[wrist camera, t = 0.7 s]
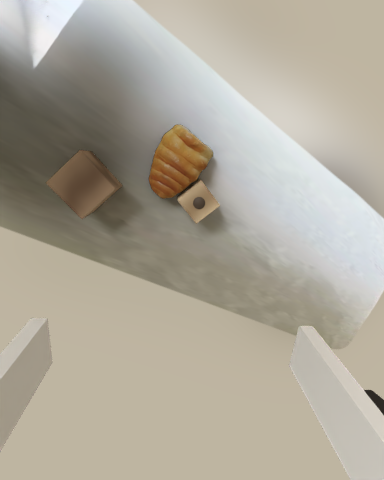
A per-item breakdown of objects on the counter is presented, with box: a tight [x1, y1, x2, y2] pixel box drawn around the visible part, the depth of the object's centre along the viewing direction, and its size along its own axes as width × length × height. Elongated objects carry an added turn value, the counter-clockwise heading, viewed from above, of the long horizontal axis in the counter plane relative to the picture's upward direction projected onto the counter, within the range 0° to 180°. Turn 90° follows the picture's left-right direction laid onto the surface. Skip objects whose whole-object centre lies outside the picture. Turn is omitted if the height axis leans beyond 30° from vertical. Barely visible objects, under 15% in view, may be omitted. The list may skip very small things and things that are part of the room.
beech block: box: [178, 179, 220, 224], centre depth 36 cm, size 4×4×4 cm
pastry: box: [149, 125, 213, 198], centre depth 34 cm, size 9×7×4 cm
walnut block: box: [46, 150, 122, 219], centre depth 34 cm, size 6×6×4 cm
